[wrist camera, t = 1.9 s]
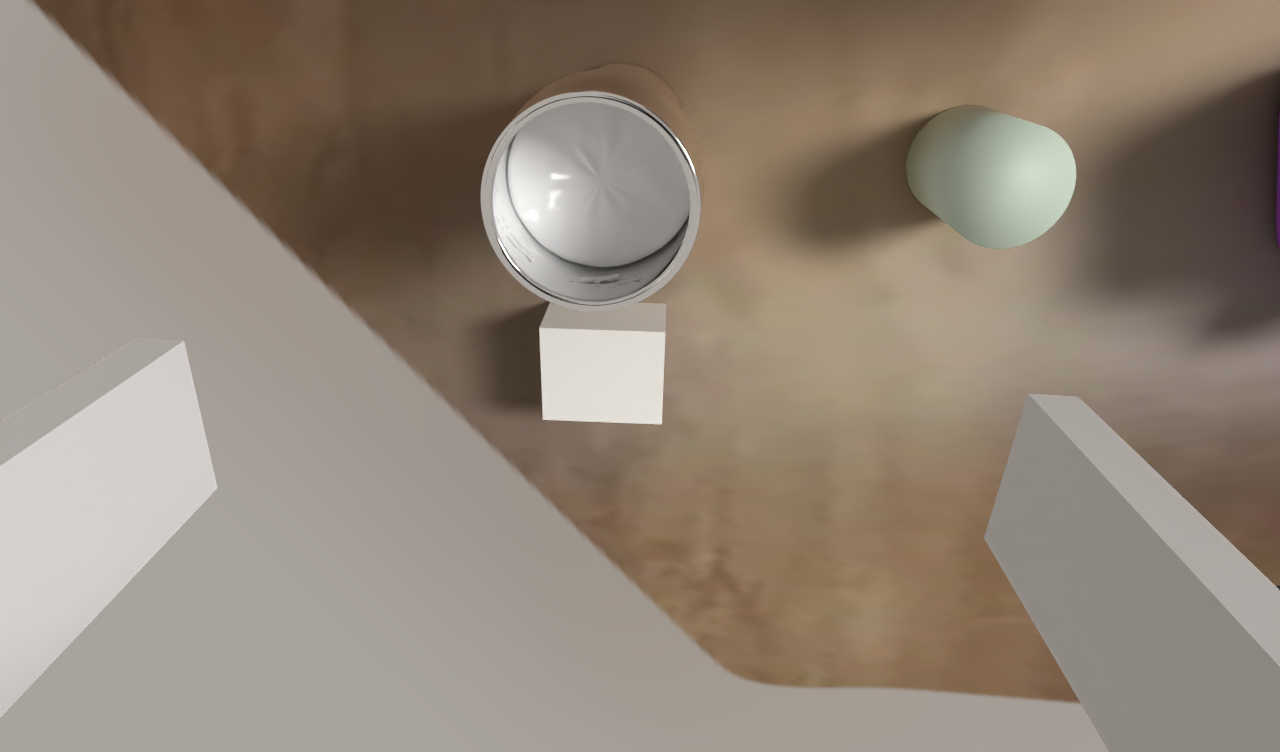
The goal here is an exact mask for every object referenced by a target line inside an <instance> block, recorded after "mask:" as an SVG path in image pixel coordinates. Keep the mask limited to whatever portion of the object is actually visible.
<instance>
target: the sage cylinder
mask: <svg viewBox="0 0 1280 752" xmlns="http://www.w3.org/2000/svg"><path fill="white" fill-rule="evenodd" d="M906 177H907V181H908V185H909V187H910V190H911V191H912V193H913V195H914V196H915V197H916V198H917V200H918V201H919V202H920V203H922V204H923V205H924V206H925V207H926V208H928V209H929V210H930V211H932V212H933V213H934V214H935V215H937V216H938V217H939V218H940V219H942V220H943V221H944V222H945V223H947V224H948V225H949V226H950V227H952V228H953V229H954V230H955V231H957V232H958V233H959V234H961V235H962V236H963V237H964V238H966V239H967V240H969V241H970V242H972V243H974V244H976V245H978V246H982V247H985V248H992V249H1006V248H1012V247H1017V246H1020V245H1023V244H1026V243H1028V242H1030V241H1032V240H1034V239H1036V238H1037V237H1039V236H1041V235H1042V234H1043V233H1045V232H1046V231H1047V230H1049V229H1050V228H1051V227H1052V226H1053V225H1054V224H1055V223H1056V222H1057V220H1058V219H1059V218H1060V217H1061V216H1062V214H1063V213H1064V211H1065V210H1066V208H1067V206H1068V204H1069V202H1070V200H1071V197H1072V195H1073V192H1074V188H1075V182H1076V165H1075V160H1074V157H1073V154H1072V152H1071V150H1070V148H1069V146H1068V145H1067V143H1066V142H1065V140H1064V139H1063V138H1062V137H1061V136H1060V135H1058V134H1057V133H1056V132H1054V131H1053V130H1051V129H1049V128H1047V127H1044V126H1041V125H1038V124H1035V123H1032V122H1029V121H1026V120H1023V119H1019V118H1016V117H1013V116H1010V115H1007V114H1004V113H1001V112H998V111H995V110H991V109H988V108H985V107H982V106H976V105H964V106H958V107H954V108H951V109H948V110H945V111H943V112H942V113H940V114H938V115H936V116H935V117H934V118H932V119H931V120H930V121H929V122H927V123H926V124H925V125H924V126H923V127H922V129H921V130H920V131H919V132H918V134H917V135H916V137H915V138H914V140H913V142H912V144H911V146H910V149H909V152H908V155H907V161H906Z"/></svg>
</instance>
